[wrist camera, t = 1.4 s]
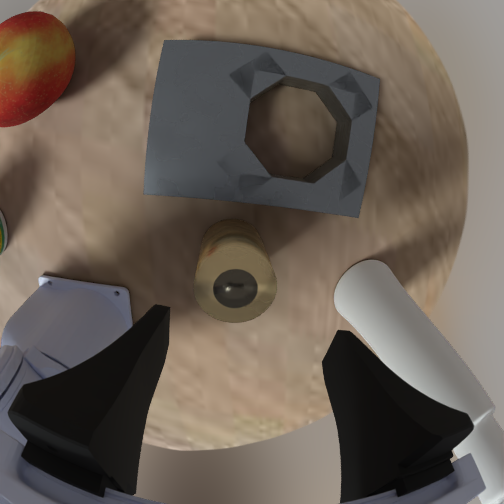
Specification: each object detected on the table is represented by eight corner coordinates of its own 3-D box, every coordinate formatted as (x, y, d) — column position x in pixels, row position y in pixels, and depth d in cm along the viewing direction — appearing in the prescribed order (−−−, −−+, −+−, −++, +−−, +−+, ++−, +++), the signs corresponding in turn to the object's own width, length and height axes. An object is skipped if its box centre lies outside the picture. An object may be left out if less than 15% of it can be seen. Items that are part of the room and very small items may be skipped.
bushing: (199, 273, 21) (192, 320, 15) (203, 216, 19) (195, 246, 13) (257, 278, 21) (269, 325, 16) (266, 222, 20) (283, 254, 14)
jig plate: (153, 188, 18) (143, 194, 16) (171, 52, 14) (164, 40, 12) (343, 209, 20) (358, 218, 17) (363, 84, 16) (379, 79, 14)
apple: (96, 19, 12) (31, -33, 3) (96, 105, 15) (6, 88, 6) (21, 57, 11) (-53, 41, 2) (21, 138, 15) (-66, 152, 5)
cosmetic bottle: (400, 286, 23) (547, 459, 3) (354, 328, 24) (465, 526, 4) (372, 244, 21) (571, 452, 1) (320, 293, 22) (452, 550, 2)
